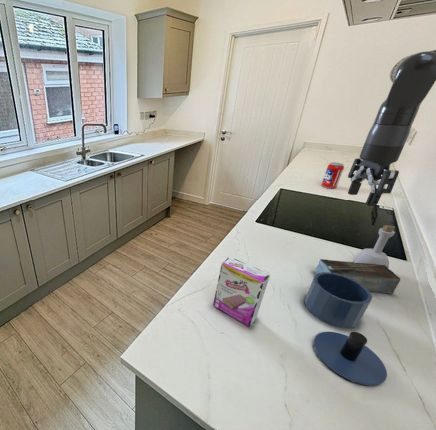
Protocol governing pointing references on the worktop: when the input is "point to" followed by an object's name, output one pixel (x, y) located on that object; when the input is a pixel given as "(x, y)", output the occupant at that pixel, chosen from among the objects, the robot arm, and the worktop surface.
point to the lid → (350, 357)
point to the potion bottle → (376, 249)
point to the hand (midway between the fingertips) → (360, 199)
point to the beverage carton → (363, 274)
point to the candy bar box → (240, 290)
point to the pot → (337, 299)
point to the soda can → (332, 175)
